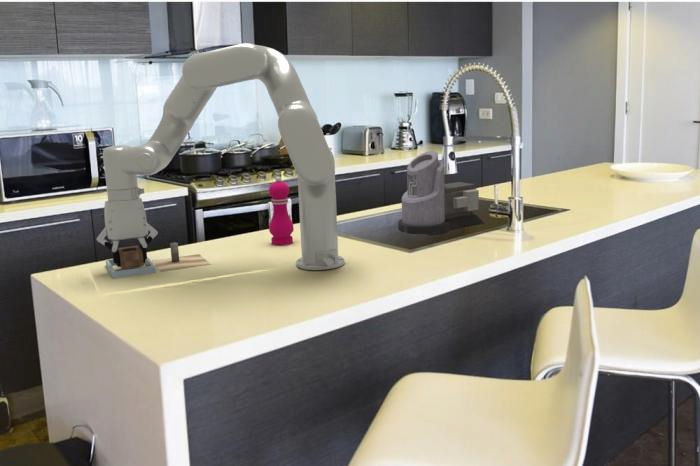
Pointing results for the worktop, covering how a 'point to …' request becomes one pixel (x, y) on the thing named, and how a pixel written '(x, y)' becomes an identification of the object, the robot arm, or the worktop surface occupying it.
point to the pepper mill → (280, 214)
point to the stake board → (179, 260)
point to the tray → (130, 271)
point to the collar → (131, 257)
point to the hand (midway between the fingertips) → (130, 263)
